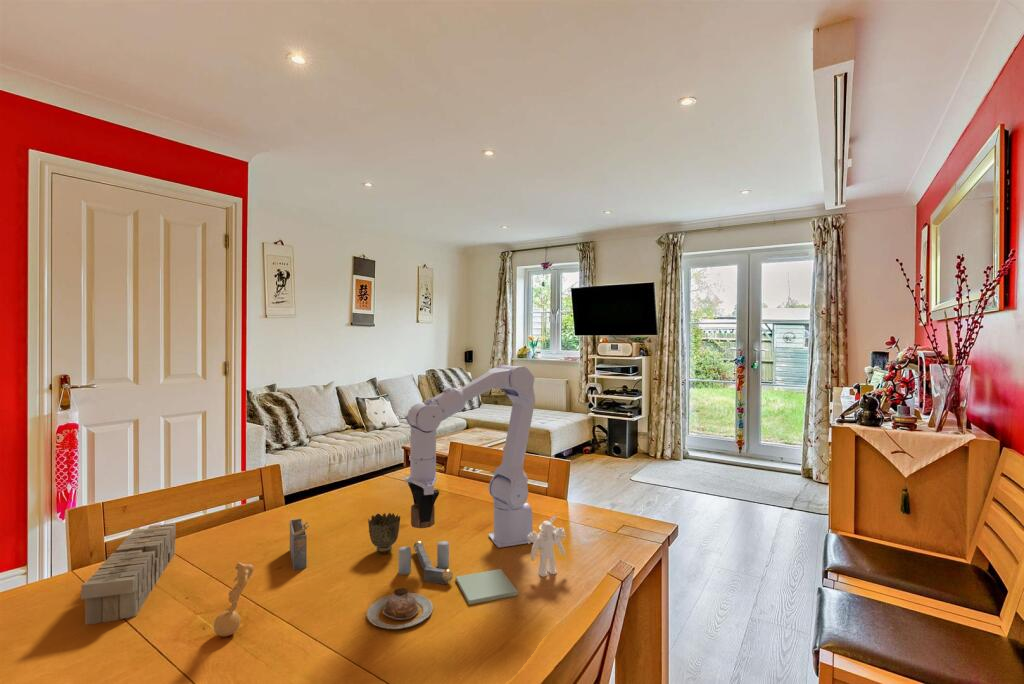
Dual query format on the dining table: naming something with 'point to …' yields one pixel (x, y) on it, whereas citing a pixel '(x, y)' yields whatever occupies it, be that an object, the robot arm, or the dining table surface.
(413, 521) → the napkin ring
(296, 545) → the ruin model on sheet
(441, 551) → the post inner
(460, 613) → the dining table surface
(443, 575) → the rail
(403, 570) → the grey rounded cylinder
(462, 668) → the dining table surface
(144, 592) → the block tower
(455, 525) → the dining table surface
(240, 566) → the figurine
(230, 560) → the dining table surface
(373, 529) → the cup
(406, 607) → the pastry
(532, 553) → the hat wearing toy figure
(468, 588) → the pad
